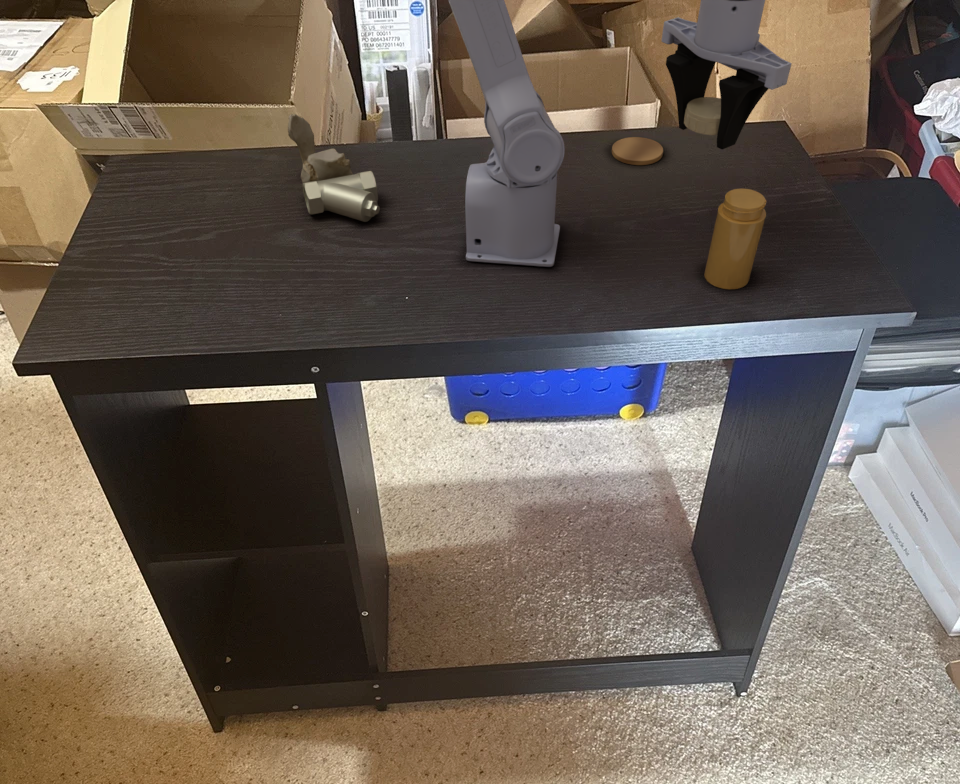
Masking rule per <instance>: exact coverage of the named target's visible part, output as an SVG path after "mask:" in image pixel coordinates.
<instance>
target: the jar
mask: <svg viewBox="0 0 960 784" xmlns="http://www.w3.org/2000/svg"><path fill="white" fill-rule="evenodd" d="M766 205H767V199H766V198H765V196H764V195H763V194H762V193H760V192H759V191H757V190H755V189H750V188H734V189H731V190H728V192H726V193H725V195H724V200H723V202H722V203H720V205H718V207H717V211H716V216H715V222H714V226H713V230H712V234H711V235H712V236H711V240H710V245H709V249H708V254H707V259H706V263H705V269H704V272H703V276H704V279H705V280H706V282H707V283H708V284H710V285H712V286H714V287H715V288H718V289H722V290H738V289H741V288H743V287H745V286H746V285H748V284H749V282H750V279H751V274H752V270H753V268H754V267H753V266H754V263H755V260H756V255H757V252H758V247H759V244H760V241H761V236H762V232H763V229H764V225H765V222H766V219H767V218H766V217H767V212H766V210H765V207H766Z"/></svg>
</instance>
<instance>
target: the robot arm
mask: <svg viewBox="0 0 960 784" xmlns="http://www.w3.org/2000/svg"><path fill="white" fill-rule="evenodd" d="M447 1H448V3H449V7H450V9H451V12H452V14H453V17H454V19H455V22H456V24H457V25H456V26H457V27H458V30H459V32H460V35H461V38H462V41H463V43H464V45H465V48H466V51H467V54H468V57H469V59H470V62H471V65H472V68H473V70H474V73H475V74H476V77H477V81H478V84H479V88H480V90H481V93H482V95H483V99H484V115H483V124H484V127H485V131H486V132H487V134H488V136H489V137H490V140H491V142H492V144H493V147H492V149H491V151H490V153H489V155H488V159H487V161H486V162H480V163H472V164H470V165H469V167H468V171H467V174H466V175H467V177H466V180H465V181H466V182H465V196H464V197H465V198H464V200H465V201H464V205H465V206H464V210H465V211H464V212H465V214H464V215H465V240H466V253H465V260H466V261H468V262H478V263H489V264H490V263H491V264H502V265H515V266H516V265H518V266H532V267H533V266H534V267H543V268H544V267H546V268H551V267H553V266H554V265H555V260H556V254H557V249H558V242H559V237H560V231H561V225H559V224H557V223H555V222H556V220H555V219H556V205H557V189H558V188H557V186H558V171H559V169H560V168H561V166H562V164H563V161H564V158H565V149H566V148H565V147H566V146H565V141H564V138H563V136H562V135H561V133H560V131H559V130H558V129H557V128H556V127H555V125H554V123H553V121H552V119H551V117H550V115H549V113H548V112H547V110H546V107H545V103H544V101H543V99H542V97H541V96H540V94H539V93H538V92H537V91H536V89H535V87H534V85H533V82H532V80H531V77H530V74H529V72H528V68H527V64H526V62H525V59H524V56H523V53H522V50H521V47H520V44H519V41H518V38H517V34H516V32H515V29H514V25H513V23H512V19H511V16H510V13H509V10H508V7H507V4H506V2H505V0H447ZM765 3H766V0H700V3H699V10H698V16H697V22H695V21H691V20H688V19H684V18H683V17H682V18H681V17H679V16H677V17H675V18H671V19H668V20H665V21H663V28H662V33H661V34H662V35H661V43H663V44H666V45H673V44H674V45H676V46H677V48H676V50H675V52H674V53H672V54H669V55H667V56H666V58H665V59H666V60H665V66H666V68H667V70H668V73H669V75H670V78H671V82H672V85H673V90H674V93H675V100H676V101H675V102H676V106H677V107H676V108H677V118H678V128H679V129H681V130H682V131H685V130H687V129H688V128H687V127H686V126H685V124H684V117H685V111H686V108H687V104H688V103H689V102H690V101H691V100H694V99H697V98H702V97H706V96H705V95H706V91H707V88H708V84H709V81H710V78H711V75H712V72H713V71H714V67H715V65H716V63H718V64H721V65H722V66H725V67H727V68H729V69H731V70H735V71H736V73H735V74H732V75H730V76H727V77H724V78H722V79H719V82H718V87H719V93H720V98H721V116H720V123H719V128H718V134H717V135H716V148H718V149H720V150H725V149H727V148H730V147H732V146H734V145H736V144H737V141H738V139H739V137H740V134H741V133H742V130H743V128H744V127H745V125H746V122H747V121H748V119H749V117H750V115H751V114H752V112H753V110H754V109H755V107H756V106H757V105H758V103H759V101H760V100H761V99H762V98H763V96H765V94H766V93H767V92H768V90H771V91H773V90H776V89H779V88H782V87H783V86H786V85H787V83H788V80H789V76H790V72H791V68H792V62H790V61H788V60H786V59H783V58H782V57H780V56H779V55H777V54H776V53H774V51H772V50H771V49H769V48H768V47H767V46H766V45H764V44H763V43H762V42H760V37H761V35H760V33H759V31H760V26H761V22H762V17H763V14H764V13H763V12H764V8H765Z"/></svg>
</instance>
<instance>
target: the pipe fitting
mask: <svg viewBox="0 0 960 784" xmlns="http://www.w3.org/2000/svg"><path fill="white" fill-rule="evenodd" d="M301 186H302V193H303V197H304V202H305V205H306V208H307V212H308V214H309V215H317V214H321V213H324V212H327V211H328V212H331V213H333V214H337V215H340V216H343V217H347V218H350V219H353V220H357V221H360V222H363V223H367V222H369V221H370V220H371V219H372V218H374V217H375V216H376V215H379V213H380V210H381V209H380V206H379V204H378V201H379V193H378V186H377V182H376V178H375V175H374V173H373V171H372V170H365V171H362V172H361V171H360V172H357V173H353V175H348V176H343V177H337V178H332V179H327V180H321V181H312V182H306V183H303V182H302V185H301Z"/></svg>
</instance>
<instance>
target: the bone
mask: <svg viewBox="0 0 960 784" xmlns="http://www.w3.org/2000/svg"><path fill="white" fill-rule="evenodd" d="M287 133H288V137H289V139H290V140H291V141H293V142H294V143H295V144H296V146H297V149H298V152H299V155H300V156H299V157H300V158H301V163H302V169H301V171H300V179H301V182H302V183H306V182H312V181H321V180H327V179H332V178H337V177H343V176H348V175H354V173H353V172H352V170H351V160H350V159H347V158H346V156H345V153H344V152H342V153H339V152H338V151H337V150H336V149H335V148H329V149H325V150H322V151H318V152H316V147H315V146H316V145H315V144H316V143H315V134H314V131H313V129H312V126H311V124H310V123H309V122H308V120H306V119H305V118H304V117H303V116H300V115H297V114H296V113H291V114H289V115H288V123H287Z"/></svg>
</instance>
